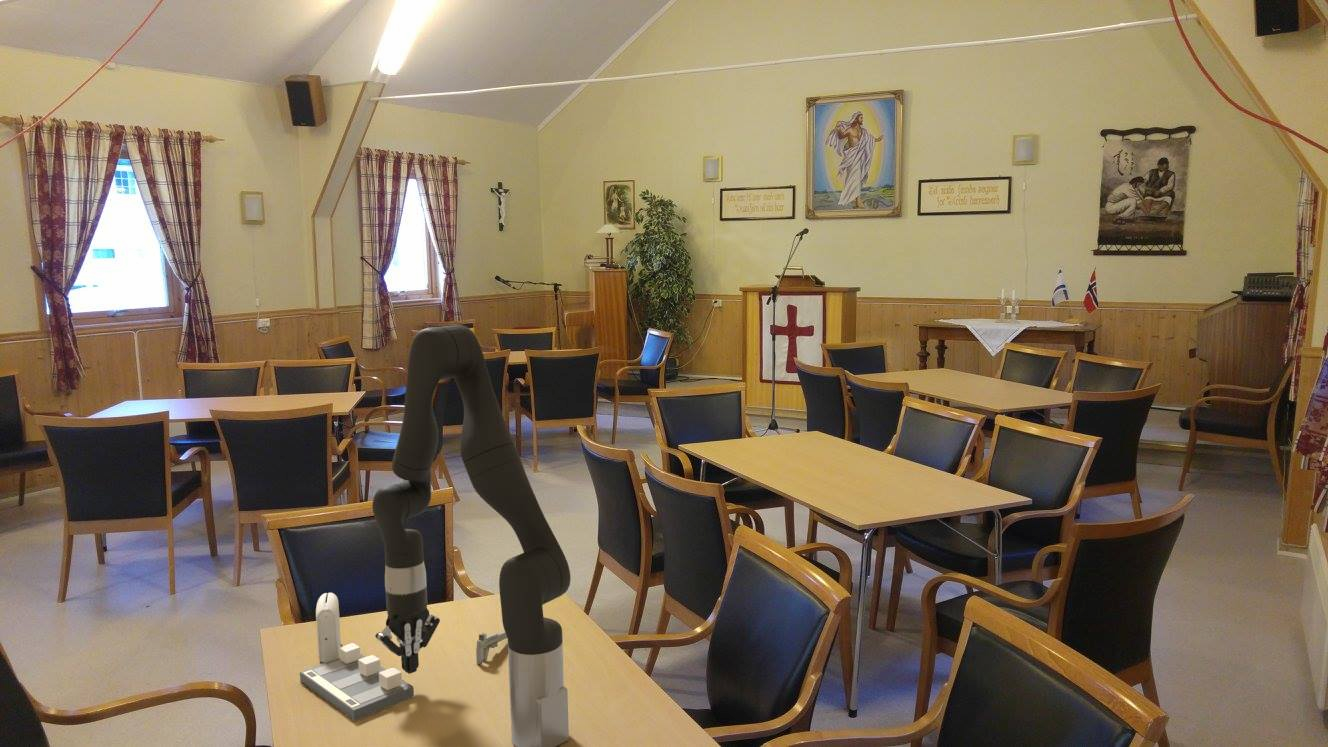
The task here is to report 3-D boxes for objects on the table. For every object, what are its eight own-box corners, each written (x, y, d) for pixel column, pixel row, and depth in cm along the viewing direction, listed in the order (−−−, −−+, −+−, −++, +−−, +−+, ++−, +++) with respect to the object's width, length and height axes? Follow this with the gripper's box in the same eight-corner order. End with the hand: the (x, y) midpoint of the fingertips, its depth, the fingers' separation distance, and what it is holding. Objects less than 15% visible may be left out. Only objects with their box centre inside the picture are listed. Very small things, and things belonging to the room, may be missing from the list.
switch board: (413, 696, 170) (413, 685, 170) (354, 720, 162) (353, 709, 161) (357, 660, 185) (356, 651, 185) (300, 681, 177) (299, 671, 176)
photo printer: (340, 661, 185) (336, 604, 183) (317, 664, 184) (313, 607, 182) (342, 641, 195) (338, 586, 193) (321, 643, 194) (317, 589, 192)
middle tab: (380, 671, 175) (380, 659, 175) (366, 676, 173) (365, 664, 173) (373, 666, 177) (372, 654, 177) (358, 671, 175) (358, 659, 175)
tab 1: (360, 658, 181) (359, 647, 180) (346, 663, 179) (345, 652, 178) (353, 654, 183) (352, 642, 182) (339, 659, 181) (338, 647, 180)
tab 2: (401, 684, 170) (401, 672, 169) (387, 690, 168) (386, 677, 167) (393, 679, 172) (393, 667, 171) (379, 685, 170) (378, 672, 169)
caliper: (481, 667, 182) (480, 637, 182) (476, 666, 183) (475, 637, 182) (528, 627, 202) (527, 600, 201) (523, 626, 202) (522, 599, 201)
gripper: (383, 600, 163) (388, 690, 165) (447, 580, 172) (451, 666, 175) (363, 589, 168) (369, 677, 171) (426, 571, 178) (430, 654, 180)
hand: (410, 671), depth 173 cm, fingers closed
